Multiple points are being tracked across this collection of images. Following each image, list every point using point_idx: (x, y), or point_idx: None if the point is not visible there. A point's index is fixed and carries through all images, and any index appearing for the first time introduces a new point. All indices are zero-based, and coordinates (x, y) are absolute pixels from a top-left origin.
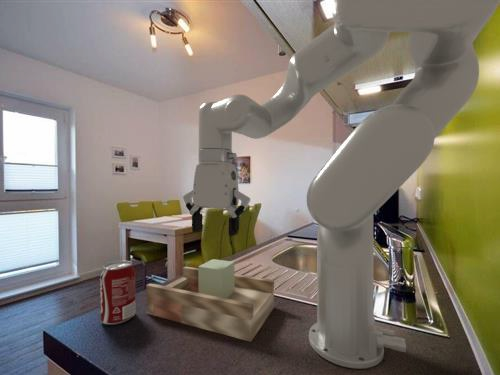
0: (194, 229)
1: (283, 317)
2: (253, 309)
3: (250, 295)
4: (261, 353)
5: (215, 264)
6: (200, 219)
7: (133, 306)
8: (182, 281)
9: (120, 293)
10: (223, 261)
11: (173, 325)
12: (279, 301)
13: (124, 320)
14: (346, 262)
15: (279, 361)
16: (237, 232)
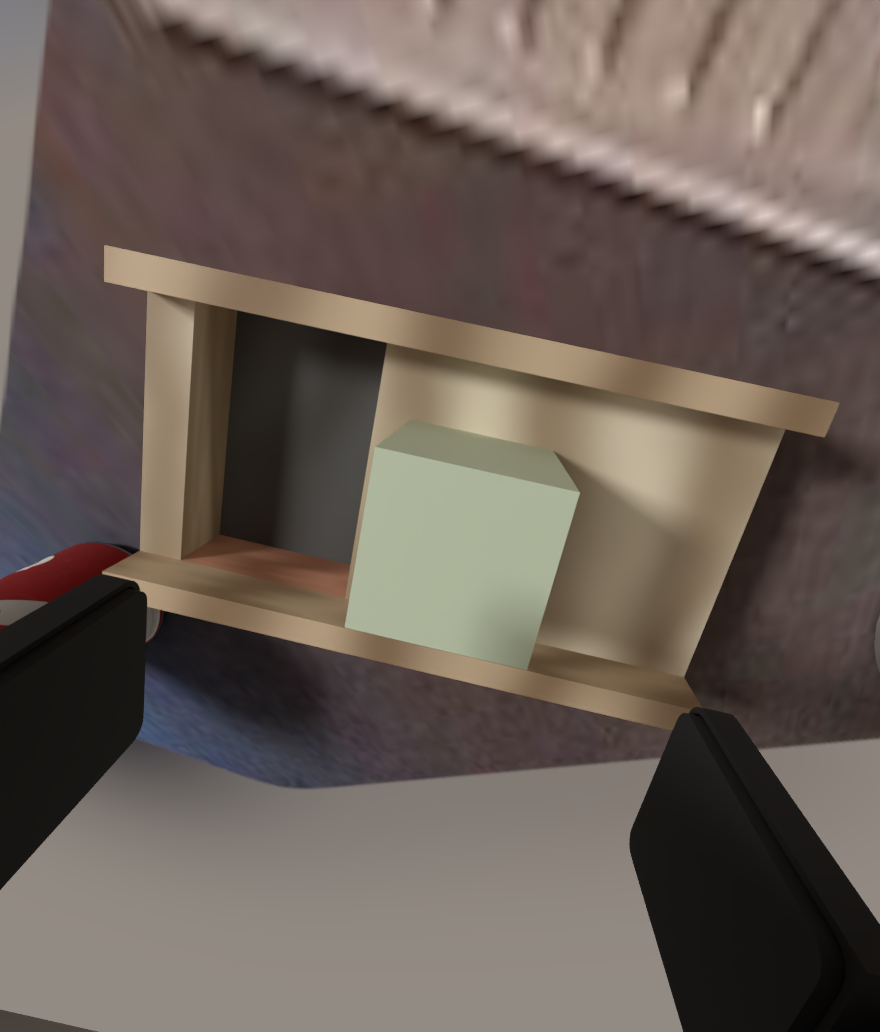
0: (115, 753)
1: (789, 478)
2: (680, 619)
3: (652, 485)
4: None
5: (447, 572)
6: (14, 736)
7: None
8: (191, 366)
9: None
10: (485, 494)
11: None
12: (785, 314)
13: (158, 630)
14: None
15: (747, 720)
16: (730, 724)
